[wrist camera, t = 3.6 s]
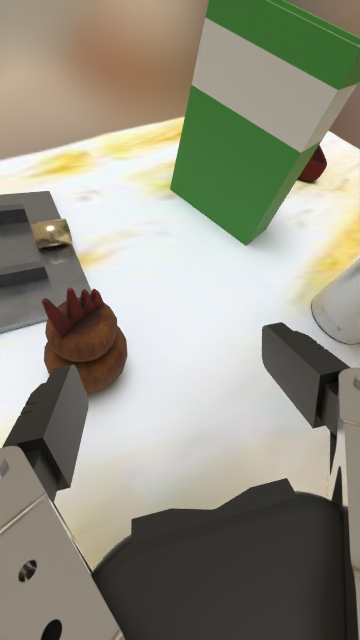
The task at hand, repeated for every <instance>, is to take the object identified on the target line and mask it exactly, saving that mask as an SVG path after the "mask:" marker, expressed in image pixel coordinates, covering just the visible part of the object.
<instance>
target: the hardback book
mask: <svg viewBox="0 0 360 640" xmlns="http://www.w3.org/2000/svg"><path fill="white" fill-rule="evenodd" d="M359 81H360V37H358V36H356V35H354V34H352V33H350V32H348V31H346V30H344V29H342V28H340V27H337V26H336V25H334V24H332V23H329V22H327V21H325V20H323V19H321V18H319V17H317V16H315V15H313V14H311V13H309V12H307V11H305V10H303V9H301V8H299V7H297V6H295V5H293V4H291V3H289V2H287V1H285V0H209V3H208V8H207V13H206V18H205V22H204V28H203V32H202V37H201V42H200V47H199V52H198V56H197V61H196V66H195V71H194V76H193V81H192V85H191V90H190V95H189V100H188V105H187V110H186V115H185V119H184V124H183V129H182V134H181V139H180V144H179V149H178V153H177V158H176V163H175V168H174V173H173V178H172V182H171V187H170V190H172V191H173V192H174V193H176V194H177V195H179V196H180V197H181V198H183V199H184V200H185V201H187V202H188V203H189V204H191V205H192V206H193V207H195V208H196V209H197V210H199V211H200V212H201V213H203V214H204V215H205V216H207V217H208V218H209V219H211V220H212V221H213V222H215V223H216V224H217V225H219V226H220V227H222V228H223V229H224V230H226V231H227V232H228V233H230V234H231V235H232V236H234V237H235V238H236V239H238V240H239V241H240V242H242V243H243V244H244V245H247V244H249V243H250V242H251V241H252V240H253V239H255V238H256V237H257V236H258V235H259V234H260V233H262V232H263V231H264V230H265V229H266V228H267V226H268V225H269V223H270V221H271V220H272V218H273V217H274V215H275V214H276V212H277V210H278V209H279V207H280V206H281V204H282V202H283V201H284V199H285V198H286V196H287V195H288V193H289V191H290V190H291V188H292V187H293V185H294V184H295V182H296V180H297V179H298V177H299V176H300V174H301V172H302V171H303V169H304V168H305V166H306V165H307V163H308V161H309V160H310V158H311V157H312V155H313V153H314V152H315V150H316V149H317V147H318V146H319V144H320V142H321V141H322V139H323V138H324V136H325V134H326V133H327V131H328V130H329V128H330V127H331V125H332V123H333V122H334V120H335V119H336V117H337V115H338V114H339V112H340V111H341V109H342V108H343V106H344V104H345V103H346V101H347V100H348V98H349V96H350V95H351V93H352V92H353V90H354V88H355V87H356V85H357V84H358V82H359Z"/></svg>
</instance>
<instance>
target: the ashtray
mask: <svg viewBox="0 0 360 640" xmlns="http://www.w3.org/2000/svg"><path fill="white" fill-rule="evenodd" d="M326 166H327V162H326V158H325V156H324V153H323V151H322V149H321V147H320V145H319V146H318V147H317V149H316V150H315V152H314V153H313V155H312V157H311V158H310V160H309V161H308V163H307V165H306V166H305V168H304V169H303V171H302V172H301V174H300V176H299V177H298V178H299V179H302V180H304V181H308V182H312V181H315V180H316V179H318V178H319V177H320V176H321V174H322V173H323V171H324V170H325V168H326Z"/></svg>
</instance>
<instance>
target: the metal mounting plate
mask: <svg viewBox="0 0 360 640" xmlns="http://www.w3.org/2000/svg"><path fill="white" fill-rule="evenodd" d="M71 243H72V238H71V233H70V230H69V227H68V224H67V221H66V219H61V218H60V215H59V213H58V211H57V208H56V206H55V203H54V201H53V199H52V196H51V194H50V192H49V191H42V192H30V193H17V194H4V195H0V333H3V332H7V331H10V330H14V329H18V328H21V327H25V326H29V325H32V324H36V323H40V322H43V321H47V320H48V317H47V314H46V312H45V309H44V307H43V304H42V300H43V299H44V298H47V299H48V300H50V301H51V302H52V303H53V304H54V305H55V306H56V307H58V306H59V305H60V304H61V303H63V302H65V301H66V298H67V289H68V288H70V287H71V288H72V289H73V290H74V292H75V294H76V296H77V297H81V291H82V290H83V289H86V290H87V291H88V292H89V294H91V292H92V291H91V289H90V287H89V284H88V282H87V279H86V277H85V275H84V272H83V270H82V268H81V265H80V263H79V260H78V258H77V256H76V253H75V251H74V249H73V246H72V244H71Z"/></svg>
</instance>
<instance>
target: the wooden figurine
mask: <svg viewBox="0 0 360 640" xmlns="http://www.w3.org/2000/svg"><path fill="white" fill-rule="evenodd" d="M42 304H43V307H44V309H45V312H46V314H47V317H48V320H47V324H46V332H45V334H46V337H47V340H48V342H47V344H46V346H45V351H44V362H45V365H46V367H47V370H48V373H49V374H51V372H52V370H53V369H54V368H59V367H64V366H68V365H75V367H76V368H77V370H78V373H79V376H80V378H81V381H82V383H83V386H84V388H85V391H86V393H92V392H95V391H97V390H100V389H102V388H104V387H106V386H107V385H109V384H110V383H112V382H113V381H114V380H115V379H116V378H117V377H118V376H119V375H120V374H121V373H122V371H123V368H124V365H125V362H126V359H127V343H126V338H125V336H124V334H123V333H122V331H121V329H120V328H119V327H118V326H117V318H116V316H115V315H114V313H113V311H112V310H111V308H110V307H109V306H108V305H106V304H105V303H104V302H103V300H102V298H101V295H100V293H99V292H98V291H97V290H96V289H93V290H92V292H91V294H89V292H88V291H87V290H86V289H83V290H82V291H81V297H77V296H76V294H75V292H74V290H73V289H72V288H71V287H70V288H68V289H67V298H66V301H65V302H63V303H61V304H60V305H59V306H58V307H56V306H55V305H54V304H53V303H52V302H51V301H50V300H48V299H47V298H44V299H43V300H42Z"/></svg>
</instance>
